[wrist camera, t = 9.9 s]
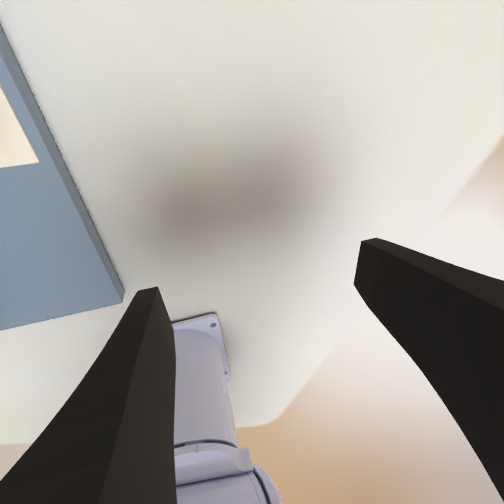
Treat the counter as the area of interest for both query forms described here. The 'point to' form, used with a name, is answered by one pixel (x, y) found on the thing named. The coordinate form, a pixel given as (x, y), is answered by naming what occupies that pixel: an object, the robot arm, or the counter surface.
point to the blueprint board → (42, 218)
